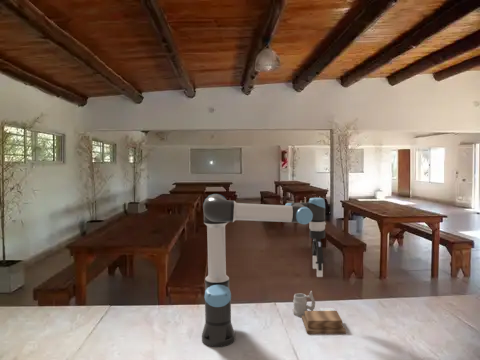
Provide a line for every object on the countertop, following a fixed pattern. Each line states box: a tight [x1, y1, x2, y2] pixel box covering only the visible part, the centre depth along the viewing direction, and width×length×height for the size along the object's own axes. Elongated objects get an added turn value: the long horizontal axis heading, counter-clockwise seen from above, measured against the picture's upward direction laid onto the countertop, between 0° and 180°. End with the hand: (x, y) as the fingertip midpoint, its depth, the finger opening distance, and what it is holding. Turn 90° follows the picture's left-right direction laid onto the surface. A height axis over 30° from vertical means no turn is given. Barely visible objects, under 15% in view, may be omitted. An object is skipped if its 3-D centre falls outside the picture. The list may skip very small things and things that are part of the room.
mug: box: [292, 290, 316, 317], centre depth 217 cm, size 8×12×12 cm, turn 93°
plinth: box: [301, 310, 347, 335], centre depth 202 cm, size 18×18×5 cm
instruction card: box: [318, 307, 336, 311], centre depth 219 cm, size 8×11×1 cm
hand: (317, 272), depth 204 cm, fingers open, 13 cm apart
